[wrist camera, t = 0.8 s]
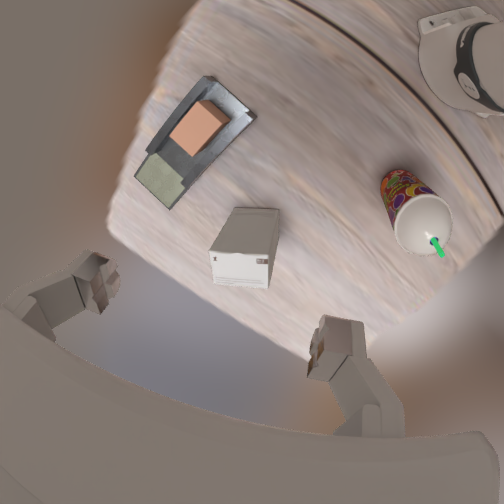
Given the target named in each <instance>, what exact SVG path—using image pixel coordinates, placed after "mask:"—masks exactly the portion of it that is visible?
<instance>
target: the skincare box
mask: <svg viewBox="0 0 504 504" xmlns="http://www.w3.org/2000/svg"><path fill="white" fill-rule="evenodd" d="M278 240H279V210H278V209H258V208H234V210H233V211H232V213H231V215H230V216H229V218H228V220H227V221H226V223H225V225H224V226H223V228H222V230H221V231H220V233H219V235H218V236H217V238H216V240H215V241H214V243H213V245H212V246H211V248H210V250H209V257H210V264H211V269H212V275H213V281H214V284H217V285H228V286H239V287H251V288H263V289H268V288H269V284H270V280H271V275H272V270H273V265H274V260H275V255H276V250H277V245H278Z"/></svg>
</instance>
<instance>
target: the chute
mask: <svg viewBox="0 0 504 504" xmlns="http://www.w3.org/2000/svg"><path fill="white" fill-rule="evenodd" d="M203 100H209V101H211V102H212V103H213V104H214V105H215V106H216V107H217V108H218V109H220V110H221V111H222V112H223V113H224V114H225V115H226V116H227V117H228V118H229V119H230V120H231V121H230V122H229V123H228V124H227V125H226V126H225V127H224V128H223V129H222V130H221V131H220V132H219V133H218V134H217V135H216V137H215V138H214V139H213V140H212V141H211V142H210V143H209V144H208V145H207V146H206V147H205V149H204V150H203V151H201V152H199V153H198V154H196V155H195V156H193V157H192V156H191V155H189V154H188V153H187V152H186V151H185V150H184V149H183V148H182V147H181V146H180V145H179V144H178V143H176V142H175V141H174V140H173V139H172V138H171V137H170V136H169V135H170V134H171V133H172V132H173V130H174V129H175V128H176V126H177V125H178V124H179V123H180V121H181V120H182V119H183V118H184V116H185V115H186V114H187V113H188V112H189V110H190V109H191V108H192V107H193V106H194V105H195V103H196V102H197V101H203ZM256 118H257V116H256V115H255V114H253V113H252V112H251V111H250V110H249V109H248V108H247V107H246V106H245V105H244V104H243V103H242V102H241V101H239V100H238V99H237V98H236V97H235V96H234V95H233V94H232V93H231V92H229V91H228V90H227V89H226V88H225V87H224V86H223V85H221V84H220V83H219V82H218V81H217V80H216V79H214V78H213V77H212V76H203V77H202V78H201V79H200V80H199V81H198V82H197V84H196V85H195V86H194V87H193V88H192V89H191V91H190V92H189V93H188V94H187V95H186V97H185V98H184V99H183V100H182V102H181V103H180V104H179V105H178V106H177V108H176V109H175V110H174V112H173V113H172V114H171V115H170V117H169V118H168V119H167V121H166V122H165V123H164V125H163V126H162V127H161V129H160V130H159V131H158V133H157V134H156V136H155V137H154V138H153V140H152V141H151V143H150V144H149V145H148V147H147V148H146V150H145V151H147V152H148V153H149V154H148V155H147V157H146V158H145V160H144V161H143V163H142V164H141V166H140V167H139V169H138V170H137V172H136V173H135V175H134V177H135V178H136V179H137V180H138V181H139V182H140V183H141V184H142V185H143V186H145V187H146V188H147V189H148V190H149V191H150V192H151V193H152V194H153V195H154V196H155V197H156V198H157V199H158V200H159V201H160V202H161V203H163V204H164V205H165V206H166V207H167V208H168V209H169V210H171V209H172V207H173V206H174V205H175V204H176V203H177V201H178V200H179V199H180V198H181V197H182V196H183V195H184V193H185V192H186V191H187V190H188V189H189V188H190V187H191V185H192V184H193V183H194V182H195V181H196V180H197V179H198V178H199V176H200V175H201V174H202V173H203V172H204V171H205V170H206V169H207V168H208V167H209V166H210V165H211V163H212V162H213V161H214V160H215V159H216V158H217V157H218V156H219V155H220V154H221V153H222V152H223V151H224V150H225V149H226V148H227V147H228V146H229V145H230V144H231V143H232V142H233V141H234V139H235V138H236V137H237V136H238V135H239V134H240V133H241V132H242V131H243V130H245V129H246V128H247V127H248V126H249V125H250V124H251V123H252V122H253V121H254V120H255V119H256Z"/></svg>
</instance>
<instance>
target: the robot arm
mask: <svg viewBox="0 0 504 504" xmlns="http://www.w3.org/2000/svg"><path fill="white" fill-rule="evenodd" d="M429 22H431V23H432V25H430V23H429ZM418 29H419V33H420V36H421V40H420V46H419V63H420V68H421V71H422V74H423V76H424V78H425V80H426V82H427V84H428V86H429V87H430V89H431V90H432V91H433V92H434V94H435V95H436V96H437V97H438V98H439V99H440V100H442V101H443V102H444V103H446V104H447V105H449V106H451V107H453V108H456V109H459V110H467V111H471V112H473V113H474V114H476V115H477V116H479V117H482V118H487V117H488V116H489V115H490V114H491V115H499V116H504V21H502V22H500V21H499V20H498V19H497V18H496V17H494V16H493V15H491V14H487V13H486V12H484V11H483V10H482V9H480V8H479V7H477V6H471V7H465V8H461V9H456V10H452V11H447V12H443V13H440V14H436V15H432V16H429V17H425V18H422V19H420V20H419V21H418ZM117 267H118V266H117V261H116V260H115V259H113V258H110V257H108V256H105V255H102V254H99V253H96V252H93V251H90V250H84V251H83V252H82V253H81V254H80V255H79V256H78V257H77V258H76V259H74V260H73V262H71V263H70V264H69V265H68V266H67V267H66V268H65V269H64V270H63V271H61V270H60V271H57V272H54V273H52V274H49V275H47V276H44V277H42V278H39V279H37V280H34V281H32V282H29V283H27V284H24V285H22V286H19V287H18V288H17V289H16V290H15V291H14V292H13V293H12V294H11V295H10V296H9V297H8V298H7V300H5V302H4V303H3V304H2V305H1V304H0V504H498V500H499V486H500V467H499V460H498V455H497V453H496V451H495V450H494V448H493V446H492V445H491V443H490V442H489V441H488V439H487V438H486V437H485V435H484V434H483V433H482V432H480V431H470V432H463V433H456V434H448V435H438V436H427V437H407V438H405V420H404V406H403V404H402V403H401V401H400V400H399V399H398V397H397V396H396V394H395V393H394V391H393V390H392V389H391V387H390V386H389V384H388V383H387V381H386V380H385V379H384V377H383V376H382V374H381V373H380V372H379V370H378V369H377V367H376V366H375V365H374V363H373V362H372V360H371V359H369V358H367V354H366V342H365V332H364V324H363V322H360V321H354V320H349V319H344V318H339V317H334V316H329V315H323V316H322V317H321V319H320V321H319V328H317V329H315V332H314V334H313V337H312V340H311V344H310V351H309V353H310V355H311V356H312V357H311V359H310V361H309V363H308V373H307V378H310V379H316V380H321V381H326V382H329V383H328V384H329V385H330V388H331V390H332V392H333V394H334V396H335V398H336V400H337V402H338V405H339V407H340V409H341V411H342V413H343V415H344V417H345V419H346V421H345V422H344V423H343V424H342V425H341V426H339V427H338V428H337V429H335V430H334V431H333V435H326V434H317V433H309V432H302V431H295V430H289V429H283V428H278V427H272V426H267V425H262V424H258V423H253V422H249V421H245V420H240V419H236V418H232V417H229V416H225V415H221V414H217V413H214V412H211V411H207V410H204V409H201V408H197V407H195V406H191V405H188V404H185V403H182V402H179V401H177V400H174V399H171V398H168V397H165V396H163V395H160V394H158V393H155V392H153V391H150V390H148V389H145V388H143V387H141V386H138V385H136V384H134V383H131V382H129V381H127V380H125V379H122V378H120V377H118V376H116V375H114V374H111V373H109V372H107V371H105V370H103V369H101V368H99V367H97V366H96V365H93V364H92V363H90V362H88V361H86V360H84V359H82V358H80V357H79V356H77V355H75V354H73V353H71V352H70V351H68V350H66V349H65V348H63V347H61V346H60V345H58V344H56V343H55V341H56V336H55V334H54V332H53V331H52V329H53V328H55V327H56V326H58V325H60V324H61V323H63V322H65V321H67V320H68V319H70V318H72V317H73V316H75V315H77V314H79V313H80V312H82V311H84V310H85V309H87V310H90V311H92V312H95V313H97V314H100V315H101V313H102V312H103V311H104V310H105V308H106V307H107V306H108V304H109V299H110V298H112V297H114V296H115V295H116V294H117V292H118V290H119V288H120V275H119V274H118V273H117V271H116V269H117Z"/></svg>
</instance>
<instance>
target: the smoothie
mask: <svg viewBox="0 0 504 504" xmlns="http://www.w3.org/2000/svg"><path fill="white" fill-rule="evenodd" d="M381 196H382V199H383V201H384V204H385V207H386V210H387V212H388V215H389V218H390V221H391V224H392V227H393V230H394V234H395V238H396V241H397V243H398V244H399V245H400V247H401V248H402V249H403V250H405V251H407V252H408V253H411V254H415V255H419V256H431V255H434V254H436V253H438V254H439V256H440V257H441V258H442V257H444V256H445V253H444V252H443V250H442V249H443V248H444V247H445V246H446V244H447V243H448V241H449V239H450V236H451V232H452V224H453V216H452V211H451V209H450V207H449V205H448V203H447V202H446V201H444V200H443V199H442V198H441V197H439V196H438V195H437V194H436V193H435V192H434V191H432V190H431V189H430V188H429V187H428V186H426V185H425V184H424V183H423V182H422V181H420V180H419V179H418V178H417V177H415V176H414V175H413V174H411V173H410V172H408V171H405V170H395V171H393V172H390V173H389V174H388V175H387V176H386V177H385V178H384V180H383V182H382V184H381Z"/></svg>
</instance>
